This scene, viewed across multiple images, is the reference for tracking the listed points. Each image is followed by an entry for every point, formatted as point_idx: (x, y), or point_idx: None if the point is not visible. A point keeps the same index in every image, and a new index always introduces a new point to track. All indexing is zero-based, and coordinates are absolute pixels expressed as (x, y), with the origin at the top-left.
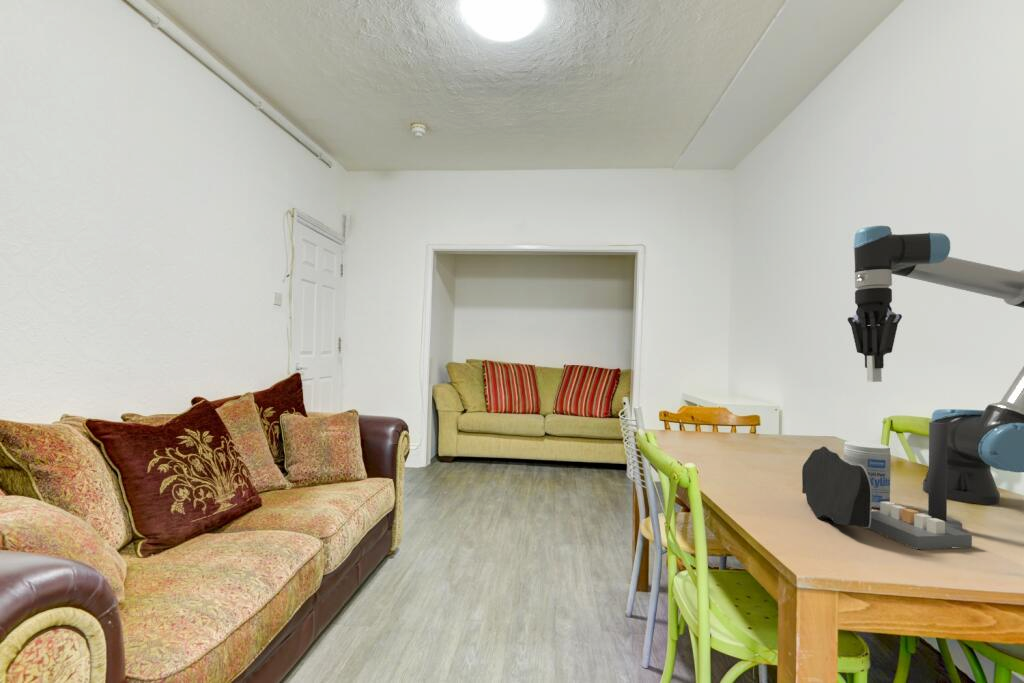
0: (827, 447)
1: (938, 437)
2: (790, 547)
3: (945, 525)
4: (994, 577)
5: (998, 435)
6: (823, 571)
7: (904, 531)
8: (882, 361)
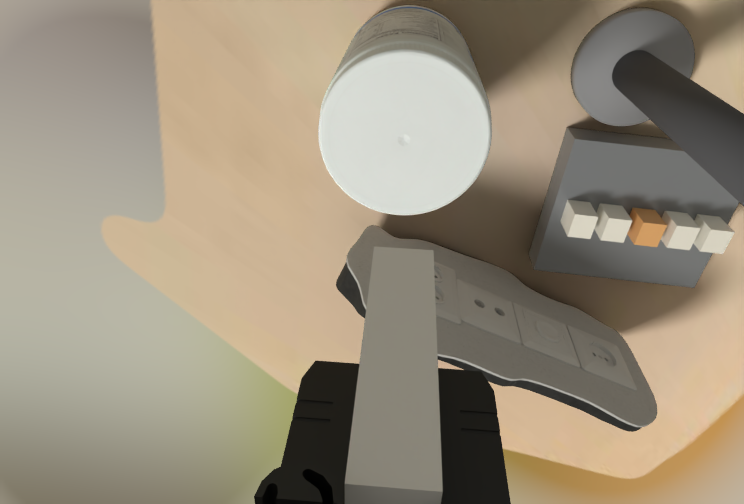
0: (440, 354)
1: None
2: (570, 439)
3: None
4: None
5: None
6: (650, 456)
7: (662, 283)
8: (497, 454)
